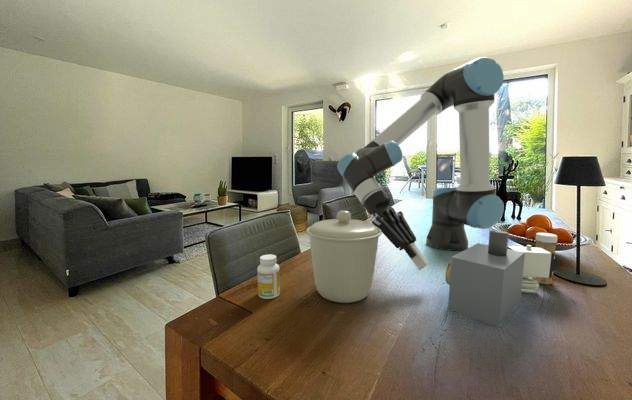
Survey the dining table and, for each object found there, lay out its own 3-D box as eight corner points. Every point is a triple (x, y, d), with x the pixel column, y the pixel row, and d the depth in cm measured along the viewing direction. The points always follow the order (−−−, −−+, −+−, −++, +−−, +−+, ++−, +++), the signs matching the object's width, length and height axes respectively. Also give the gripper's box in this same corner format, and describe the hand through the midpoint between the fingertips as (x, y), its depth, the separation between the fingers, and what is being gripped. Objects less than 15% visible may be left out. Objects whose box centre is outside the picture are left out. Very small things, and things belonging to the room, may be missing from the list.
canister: (324, 319, 60) (324, 220, 57) (297, 285, 77) (296, 207, 74) (395, 303, 67) (398, 214, 64) (356, 275, 83) (357, 203, 81)
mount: (447, 308, 64) (450, 256, 63) (473, 287, 75) (476, 243, 74) (499, 327, 57) (504, 269, 55) (520, 301, 68) (524, 252, 66)
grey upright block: (490, 250, 67) (492, 229, 67) (508, 253, 65) (510, 231, 64) (485, 253, 65) (487, 231, 64) (503, 257, 62) (505, 234, 62)
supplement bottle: (271, 287, 75) (270, 252, 74) (284, 294, 71) (283, 256, 70) (253, 294, 71) (252, 256, 70) (266, 301, 67) (265, 262, 66)
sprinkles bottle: (540, 285, 77) (545, 236, 75) (527, 278, 81) (531, 232, 79) (556, 284, 77) (562, 236, 75) (542, 278, 81) (547, 231, 79)
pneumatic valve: (556, 296, 70) (561, 249, 68) (503, 292, 72) (507, 246, 71) (543, 287, 75) (548, 243, 74) (494, 283, 77) (497, 240, 76)
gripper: (377, 203, 91) (425, 267, 81) (351, 207, 82) (401, 280, 72) (393, 187, 86) (445, 253, 76) (367, 190, 77) (422, 265, 68)
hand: (424, 266), depth 74 cm, fingers closed
